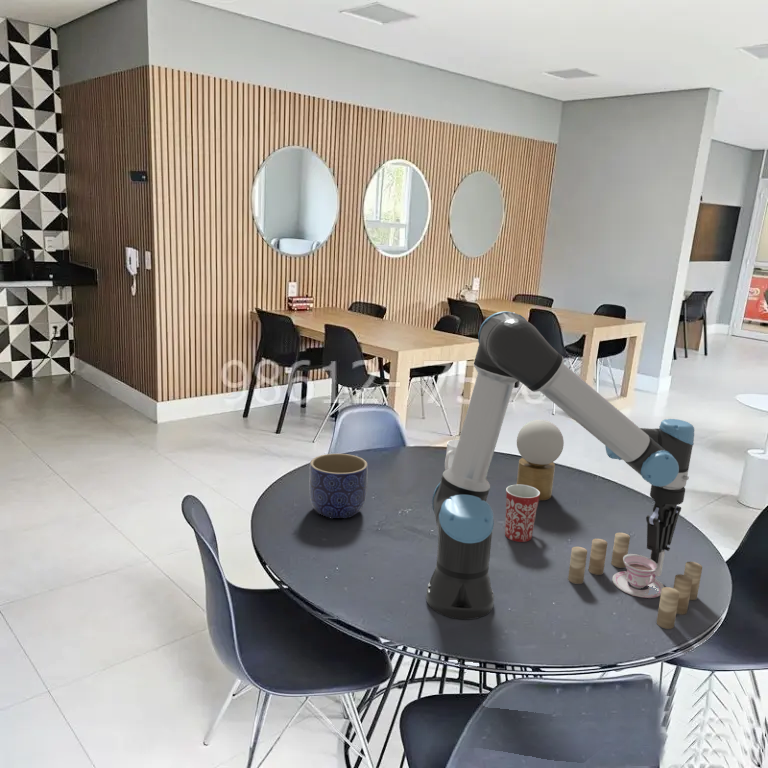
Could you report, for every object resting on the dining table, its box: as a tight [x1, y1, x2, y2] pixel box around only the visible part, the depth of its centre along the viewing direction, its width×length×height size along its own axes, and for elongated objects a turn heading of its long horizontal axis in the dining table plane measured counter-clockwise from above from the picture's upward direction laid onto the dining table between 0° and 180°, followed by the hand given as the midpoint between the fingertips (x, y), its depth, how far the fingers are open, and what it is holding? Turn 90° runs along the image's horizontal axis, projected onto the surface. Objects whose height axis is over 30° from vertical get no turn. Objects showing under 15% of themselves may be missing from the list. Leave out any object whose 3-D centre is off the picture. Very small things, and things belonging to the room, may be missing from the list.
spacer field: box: [567, 532, 703, 630], centre depth 164 cm, size 20×27×8 cm
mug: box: [504, 483, 540, 543], centre depth 189 cm, size 13×9×14 cm
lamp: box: [515, 419, 565, 502], centre depth 215 cm, size 15×14×25 cm
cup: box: [444, 439, 459, 471], centre depth 233 cm, size 8×12×10 cm
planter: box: [308, 453, 369, 519], centre depth 198 cm, size 16×17×15 cm
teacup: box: [611, 553, 665, 599], centre depth 167 cm, size 12×12×6 cm
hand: (654, 573), depth 170 cm, fingers closed
